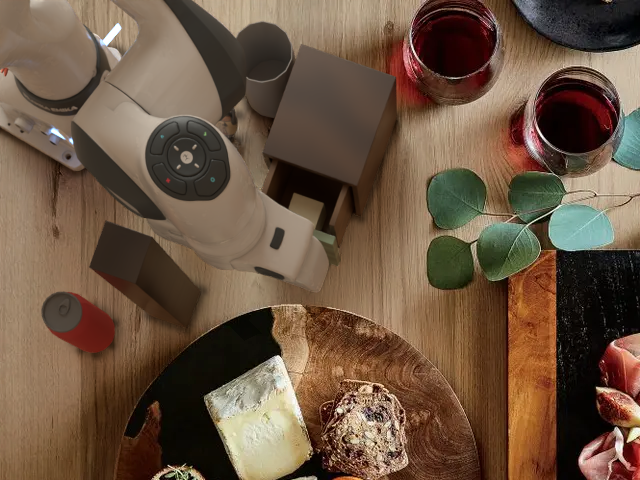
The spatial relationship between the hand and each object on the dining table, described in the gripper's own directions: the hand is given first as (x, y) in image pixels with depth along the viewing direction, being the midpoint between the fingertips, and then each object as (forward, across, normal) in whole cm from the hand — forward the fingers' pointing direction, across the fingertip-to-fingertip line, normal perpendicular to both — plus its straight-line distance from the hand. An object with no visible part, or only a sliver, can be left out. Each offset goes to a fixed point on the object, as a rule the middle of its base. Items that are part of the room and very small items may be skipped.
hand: (250, 264), depth 99 cm
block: (+21, 0, +13) cm, 25 cm away
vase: (+23, -16, +23) cm, 36 cm away
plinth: (+23, -15, -4) cm, 28 cm away
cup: (+23, -12, +31) cm, 40 cm away
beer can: (+23, -25, -12) cm, 36 cm away
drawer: (+22, 0, +14) cm, 26 cm away
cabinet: (+23, 0, +25) cm, 34 cm away
